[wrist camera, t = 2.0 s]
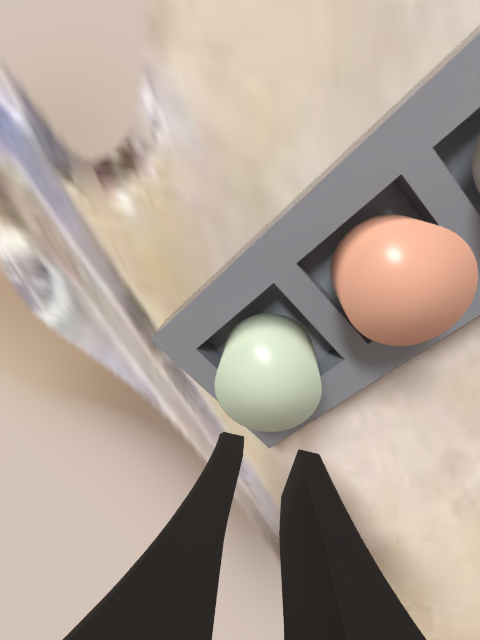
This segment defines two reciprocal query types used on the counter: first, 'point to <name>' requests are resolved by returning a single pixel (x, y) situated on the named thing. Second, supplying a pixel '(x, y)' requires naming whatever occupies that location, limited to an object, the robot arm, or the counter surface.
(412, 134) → the grey slotted tray
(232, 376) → the button sage
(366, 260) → the button terracotta
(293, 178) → the counter surface
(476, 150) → the button cream
